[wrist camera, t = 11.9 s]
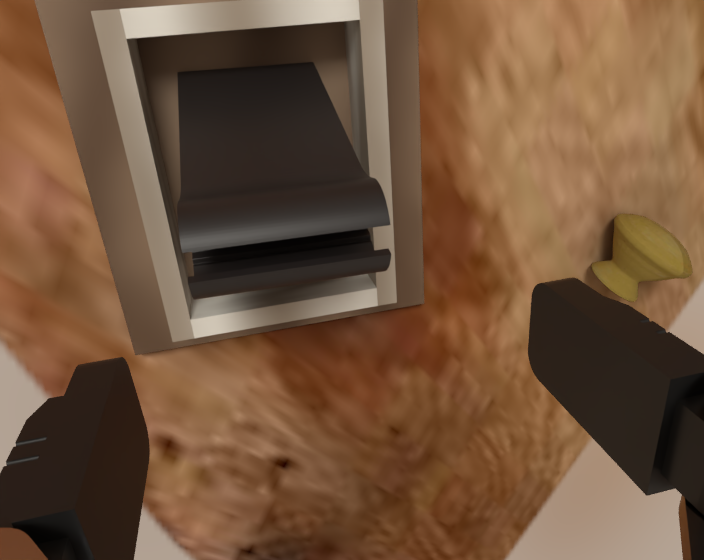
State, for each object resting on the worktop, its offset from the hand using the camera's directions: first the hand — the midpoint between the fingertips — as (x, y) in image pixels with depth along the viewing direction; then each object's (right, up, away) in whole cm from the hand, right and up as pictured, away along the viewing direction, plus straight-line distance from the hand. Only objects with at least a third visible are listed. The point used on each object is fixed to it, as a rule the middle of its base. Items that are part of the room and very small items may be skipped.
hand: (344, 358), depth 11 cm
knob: (+17, +4, +24) cm, 29 cm away
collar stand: (-4, +7, +17) cm, 19 cm away
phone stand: (-4, +7, +16) cm, 18 cm away
